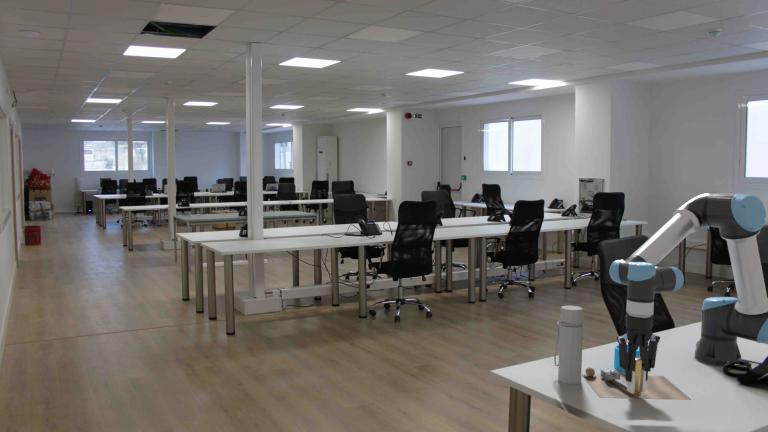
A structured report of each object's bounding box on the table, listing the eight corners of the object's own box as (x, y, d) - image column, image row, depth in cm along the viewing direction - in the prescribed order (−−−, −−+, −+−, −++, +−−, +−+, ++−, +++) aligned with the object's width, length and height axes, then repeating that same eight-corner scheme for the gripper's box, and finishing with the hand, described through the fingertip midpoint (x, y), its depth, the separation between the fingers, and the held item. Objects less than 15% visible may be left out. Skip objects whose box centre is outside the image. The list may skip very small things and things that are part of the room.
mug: (631, 376, 215) (632, 353, 214) (609, 370, 221) (610, 347, 220) (649, 369, 222) (650, 346, 222) (627, 363, 229) (628, 341, 228)
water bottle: (585, 383, 207) (588, 307, 205) (573, 389, 202) (576, 311, 200) (560, 376, 214) (562, 303, 212) (547, 382, 208) (550, 307, 206)
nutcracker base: (663, 379, 212) (664, 366, 211) (691, 403, 191) (691, 388, 190) (581, 377, 213) (581, 364, 213) (599, 401, 192) (600, 386, 192)
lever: (598, 376, 210) (599, 342, 209) (610, 375, 210) (611, 342, 210) (631, 397, 190) (633, 361, 190) (645, 396, 191) (646, 360, 190)
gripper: (655, 310, 196) (651, 385, 198) (608, 312, 192) (605, 388, 194) (671, 316, 188) (667, 394, 190) (623, 318, 185) (619, 397, 187)
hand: (635, 391), depth 192 cm, fingers open, 3 cm apart
